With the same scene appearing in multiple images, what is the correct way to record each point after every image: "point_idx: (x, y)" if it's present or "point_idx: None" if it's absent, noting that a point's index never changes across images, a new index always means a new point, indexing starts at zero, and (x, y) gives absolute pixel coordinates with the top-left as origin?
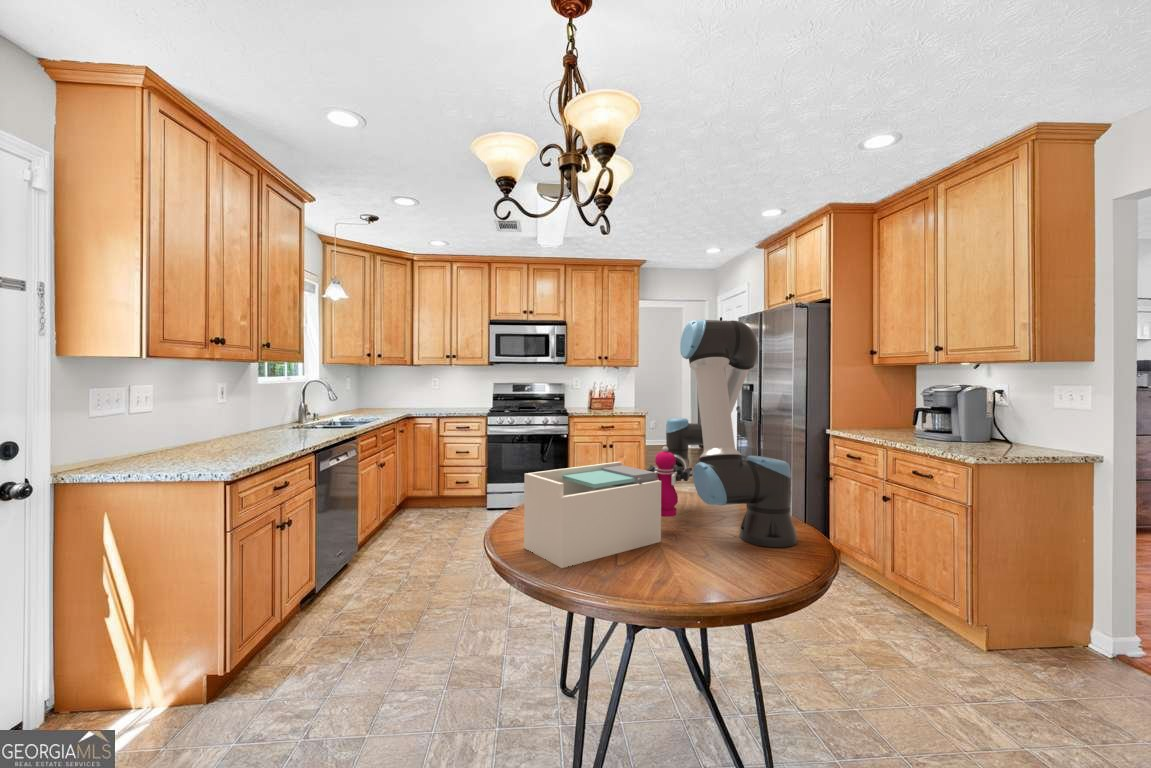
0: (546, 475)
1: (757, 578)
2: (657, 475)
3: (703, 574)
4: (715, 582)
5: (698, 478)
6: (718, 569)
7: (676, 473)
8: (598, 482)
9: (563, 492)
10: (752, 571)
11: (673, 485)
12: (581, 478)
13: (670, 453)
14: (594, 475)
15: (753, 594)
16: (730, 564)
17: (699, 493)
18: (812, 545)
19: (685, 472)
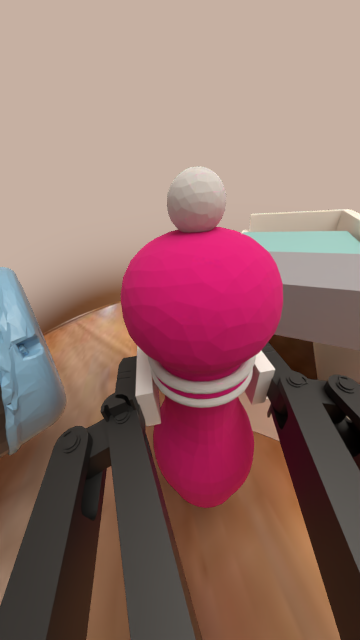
0: (346, 221)
1: (56, 348)
2: (252, 382)
3: (114, 334)
4: (104, 326)
5: (41, 338)
6: (95, 349)
7: (137, 376)
8: (247, 234)
9: (249, 226)
10: (54, 361)
11: (163, 410)
12: (295, 233)
13: (149, 242)
14: (308, 243)
15: (75, 323)
16: (76, 368)
17: (62, 386)
18: None
19: (73, 430)
